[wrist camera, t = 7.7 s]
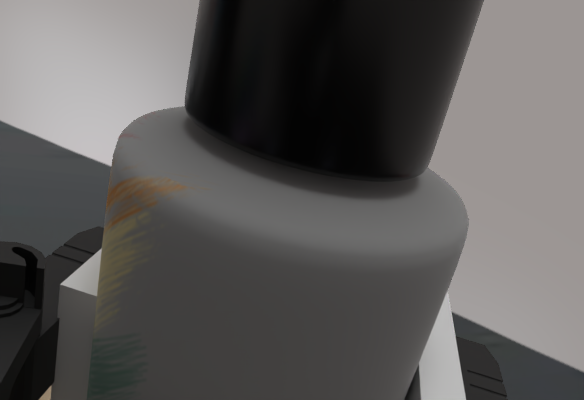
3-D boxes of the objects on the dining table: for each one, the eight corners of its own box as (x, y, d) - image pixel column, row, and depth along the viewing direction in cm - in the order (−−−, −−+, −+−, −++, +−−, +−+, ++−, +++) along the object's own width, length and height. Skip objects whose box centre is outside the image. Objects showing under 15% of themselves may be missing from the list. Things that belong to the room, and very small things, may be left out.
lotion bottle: (315, 679, 15) (659, -117, 8) (151, 924, 11) (572, -381, 3) (182, 534, 18) (333, -149, 10) (10, 681, 14) (50, -311, 6)
